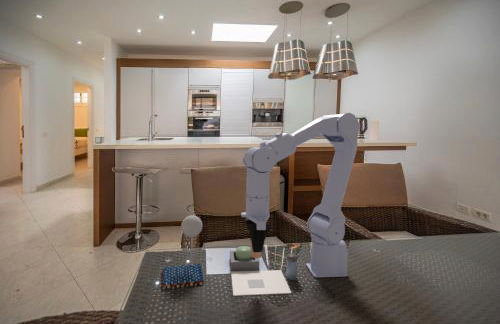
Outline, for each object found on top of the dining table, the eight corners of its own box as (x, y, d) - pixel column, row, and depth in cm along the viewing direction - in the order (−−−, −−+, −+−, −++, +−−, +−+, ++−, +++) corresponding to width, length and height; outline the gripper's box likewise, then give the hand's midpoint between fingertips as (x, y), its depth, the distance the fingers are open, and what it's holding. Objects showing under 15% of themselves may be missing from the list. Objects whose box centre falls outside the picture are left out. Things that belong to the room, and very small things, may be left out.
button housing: (255, 258, 91) (255, 250, 91) (259, 269, 83) (259, 261, 83) (229, 258, 90) (229, 250, 90) (230, 270, 83) (231, 262, 82)
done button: (251, 255, 89) (251, 246, 89) (253, 262, 85) (253, 252, 84) (235, 256, 89) (235, 246, 89) (236, 262, 84) (236, 252, 84)
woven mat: (162, 272, 82) (161, 265, 82) (200, 268, 85) (200, 262, 84) (160, 292, 72) (160, 284, 72) (204, 287, 74) (204, 279, 74)
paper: (280, 270, 83) (280, 270, 83) (291, 293, 71) (291, 292, 71) (231, 272, 82) (231, 271, 82) (233, 296, 70) (233, 295, 70)
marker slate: (295, 274, 81) (295, 253, 80) (298, 279, 78) (298, 257, 77) (284, 275, 81) (285, 253, 80) (287, 280, 78) (288, 258, 77)
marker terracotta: (260, 253, 76) (261, 226, 76) (263, 258, 73) (263, 230, 73) (249, 253, 76) (250, 227, 75) (251, 258, 73) (252, 230, 72)
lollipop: (197, 273, 81) (197, 219, 79) (177, 271, 82) (177, 218, 80) (205, 263, 87) (205, 213, 85) (186, 261, 88) (186, 212, 87)
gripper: (239, 190, 80) (238, 239, 81) (244, 202, 66) (243, 261, 67) (265, 190, 81) (264, 238, 82) (275, 202, 66) (273, 260, 68)
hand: (256, 249), depth 74 cm, fingers closed on marker terracotta, 3 cm apart
